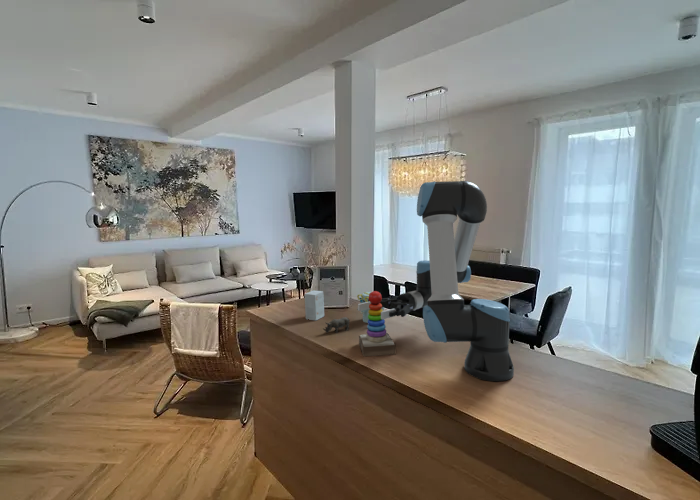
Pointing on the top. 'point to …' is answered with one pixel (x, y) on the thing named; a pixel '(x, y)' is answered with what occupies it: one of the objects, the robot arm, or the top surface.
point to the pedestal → (376, 346)
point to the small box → (314, 305)
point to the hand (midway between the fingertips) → (369, 311)
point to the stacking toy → (375, 319)
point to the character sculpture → (363, 300)
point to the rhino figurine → (337, 324)
